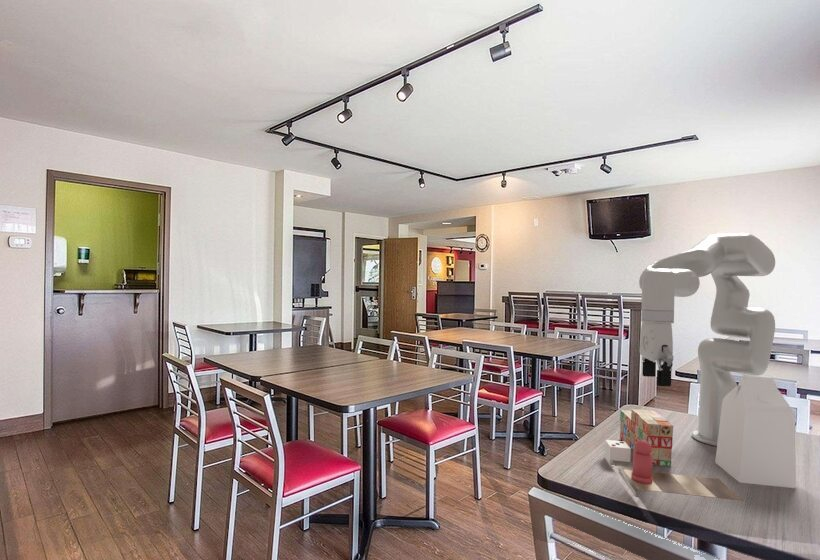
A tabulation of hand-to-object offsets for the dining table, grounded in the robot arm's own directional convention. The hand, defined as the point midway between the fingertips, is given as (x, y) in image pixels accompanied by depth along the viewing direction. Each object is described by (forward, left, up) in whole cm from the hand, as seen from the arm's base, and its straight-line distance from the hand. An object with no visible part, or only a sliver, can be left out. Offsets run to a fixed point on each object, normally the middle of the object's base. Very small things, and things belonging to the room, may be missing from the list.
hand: (656, 380), depth 117 cm
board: (-1, +14, -22) cm, 26 cm away
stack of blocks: (0, -7, -23) cm, 24 cm away
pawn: (+7, +14, -21) cm, 26 cm away
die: (+9, +1, -22) cm, 24 cm away
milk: (-22, +4, -23) cm, 32 cm away
